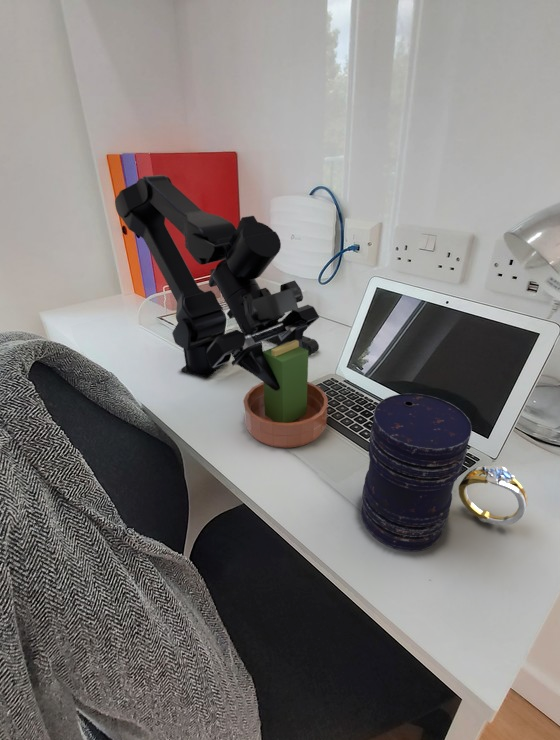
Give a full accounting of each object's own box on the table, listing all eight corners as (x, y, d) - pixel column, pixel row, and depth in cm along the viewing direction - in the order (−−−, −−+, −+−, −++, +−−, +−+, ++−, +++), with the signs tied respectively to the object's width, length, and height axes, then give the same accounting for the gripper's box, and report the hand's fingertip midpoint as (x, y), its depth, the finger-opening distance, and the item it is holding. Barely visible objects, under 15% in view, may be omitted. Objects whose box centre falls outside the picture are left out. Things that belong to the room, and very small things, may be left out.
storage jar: (460, 544, 47) (494, 442, 39) (379, 559, 45) (397, 456, 38) (419, 482, 55) (440, 388, 47) (349, 493, 54) (359, 398, 46)
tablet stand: (318, 353, 88) (319, 340, 87) (311, 357, 87) (312, 344, 85) (257, 331, 98) (257, 320, 97) (250, 335, 97) (249, 323, 95)
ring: (449, 512, 51) (463, 463, 47) (459, 497, 53) (474, 449, 49) (510, 544, 47) (531, 494, 43) (518, 527, 49) (540, 477, 45)
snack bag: (264, 415, 67) (262, 345, 60) (288, 402, 69) (288, 335, 63) (282, 427, 64) (282, 355, 57) (306, 414, 67) (308, 344, 60)
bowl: (230, 434, 65) (228, 411, 63) (268, 393, 75) (267, 372, 73) (307, 458, 60) (308, 434, 57) (337, 411, 70) (339, 388, 67)
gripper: (208, 280, 52) (267, 388, 50) (312, 253, 62) (364, 342, 61) (185, 320, 61) (234, 413, 60) (278, 291, 71) (322, 369, 70)
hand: (291, 383), depth 62 cm, fingers closed on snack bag, 5 cm apart
